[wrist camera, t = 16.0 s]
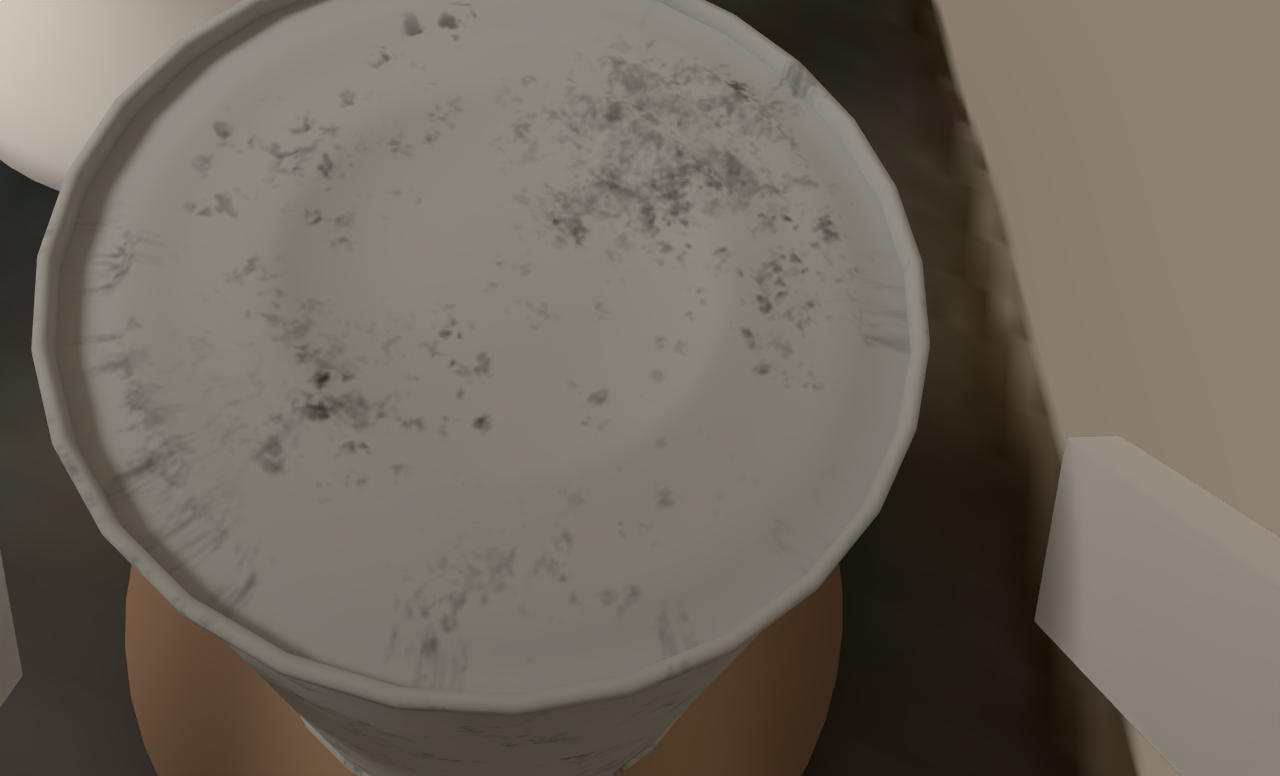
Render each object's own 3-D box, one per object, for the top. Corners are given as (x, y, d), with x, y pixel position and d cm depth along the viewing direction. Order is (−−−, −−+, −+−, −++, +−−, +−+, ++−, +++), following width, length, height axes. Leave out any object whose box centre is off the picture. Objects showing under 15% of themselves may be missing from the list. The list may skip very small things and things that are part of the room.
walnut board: (166, 1073, 19) (146, 1083, 18) (125, 347, 25) (108, 323, 24) (921, 853, 22) (942, 850, 21) (724, 258, 28) (733, 232, 27)
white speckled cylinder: (745, 799, 21) (1018, 685, 10) (245, 833, 20) (-67, 743, 9) (699, 372, 25) (857, -39, 14) (283, 376, 24) (104, -76, 13)
